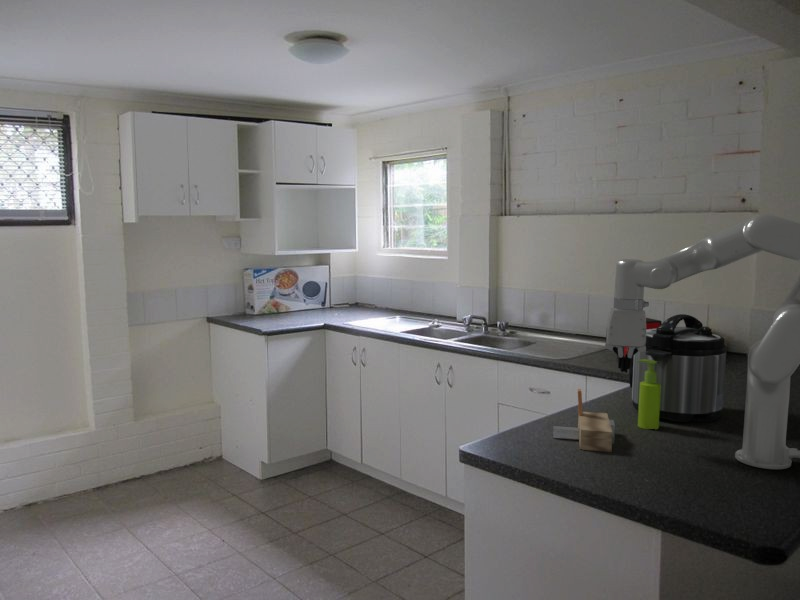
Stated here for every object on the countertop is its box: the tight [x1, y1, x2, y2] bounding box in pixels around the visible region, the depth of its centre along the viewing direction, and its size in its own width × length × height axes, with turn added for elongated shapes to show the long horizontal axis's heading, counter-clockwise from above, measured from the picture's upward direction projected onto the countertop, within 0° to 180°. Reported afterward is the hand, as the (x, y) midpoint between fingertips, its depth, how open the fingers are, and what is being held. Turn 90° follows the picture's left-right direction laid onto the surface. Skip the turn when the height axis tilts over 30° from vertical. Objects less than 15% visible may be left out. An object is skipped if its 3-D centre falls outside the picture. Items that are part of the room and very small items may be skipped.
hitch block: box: [577, 411, 613, 453], centre depth 186 cm, size 8×18×5 cm, turn 167°
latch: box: [577, 388, 584, 415], centre depth 191 cm, size 7×3×1 cm
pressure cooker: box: [628, 313, 727, 423], centre depth 212 cm, size 30×28×32 cm
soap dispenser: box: [637, 359, 661, 430], centre depth 198 cm, size 6×7×20 cm
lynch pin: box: [552, 419, 616, 445], centre depth 186 cm, size 16×5×5 cm, turn 77°
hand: (623, 371), depth 183 cm, fingers closed
